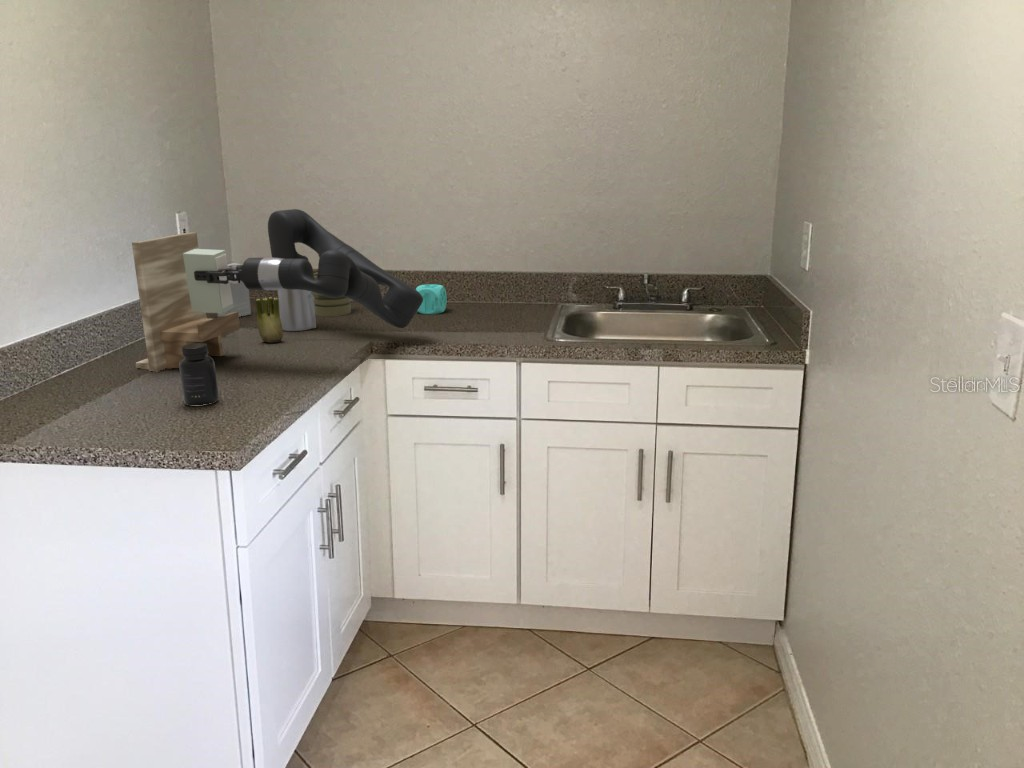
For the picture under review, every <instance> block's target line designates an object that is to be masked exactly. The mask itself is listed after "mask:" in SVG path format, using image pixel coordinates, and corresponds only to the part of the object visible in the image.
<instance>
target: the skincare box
mask: <svg viewBox="0 0 1024 768" xmlns="http://www.w3.org/2000/svg"><path fill="white" fill-rule="evenodd" d="M229 265H240V263H236V262H232V263H229V264H228V266H229ZM230 285H231V292H232V299H233V307H234V308H232V309H230V310H228V311H226V312H224V313H223V314H220V313H217V318H218V317H221V316H223V315H226V314H229V313H232V312H238V314H239V318H241V316H242V317H244V316H249V315H252V310H251V299H250V290H249V289H248V288H246V286H245V285H244V283H243V282H240V283H237V284H233V283H230Z"/></svg>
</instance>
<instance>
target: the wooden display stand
mask: <svg viewBox="0 0 1024 768" xmlns="http://www.w3.org/2000/svg"><path fill="white" fill-rule="evenodd" d="M131 246H132V254H133V260H134V269H135V277H136V284H137V289H138V290H137V291H138V296H139V297H138V298H139V303H140V304H139V305H140V311H141V313H140V314H141V318H142V319H141V321H142V326H143V333H144V341H145V346H146V355H147V358H145V359H142V360H140V361H137V362H135V367H136V369H137V368H141V369H140V370H149V372H150V371H156V372H155V373H158V372H157V371H159V372H161V371H160V370H162V369H164V370H166V369H165V368H167V369H172V368H179V363H180V361H181V360H182V359H184V357H183V356H182V346H184V345H187V344H193V343H205V344H206V345H207V350H208V354H207V356H209V357H212V356H213V357H221V356H223V355H224V350H223V349H224V348H223V341H222V339H223V338H222V335H224V334H227V333H230V332H232V331H235V330H237V329H240V328H241V324H240V317H239V314H238V312H232V313H229V314H226V315H223V316H221V317H218V316H217V317H215V318H209V317H207V313H205V312H192V308H191V302H190V296H189V289H188V283H187V277H186V271H185V264H184V258H183V253H186V252H188V251H191V250H193V249H200V248H199V242H198V233H197V232H193V231H192V232H184V233H179V234H172V235H167V236H162V237H157V238H156V237H155V238H151V239H150V238H149V239H145V240H140V241H139V240H138V241H134V242H131ZM162 371H163V370H162Z"/></svg>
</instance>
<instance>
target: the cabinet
mask: <svg viewBox="0 0 1024 768" xmlns="http://www.w3.org/2000/svg"><path fill="white" fill-rule="evenodd" d="M183 258H184V264H185V271H186V277H187V283H188V289H189V296H190V302H191V308H192V312H205V313H206V314H218V313H220V314H223V313H224V312H226V311H228V310H230V309H232V308H234V307H233V299H232V292H231V285H230V283H227V284H219V283H207V281H196V280H195V277H194V272H195V271H209V270H218V269H219V268H227V267H228V257H227V252H226V249H210V248H209V249H208V248H205V249H204V248H199V249H193V250H191V251H188V252H186V253H183ZM222 272H225V270H224V271H222Z"/></svg>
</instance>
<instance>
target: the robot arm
mask: <svg viewBox="0 0 1024 768" xmlns="http://www.w3.org/2000/svg"><path fill="white" fill-rule="evenodd" d="M267 233H268V241H269V248H270V253H271V257H248V258H246V259H245V260H244V261H243V263H241V264H240V263H239V264H240V265H229V266H228V267H227V268H219V269H218V270H209V271H195V272H194V277H195V280H196V281H207V283H219V284H227V283H233V284H237V283H240V282H243V283H244V285H245V286H246V288H248V289H249V291H277V297H278V298H277V299H279V315H280V319H281V323H282V328H283V331H285V332H298V331H306V330H311V329H316V328H317V323H316V315H315V308H314V297H315V295H314V294H313V292H316V293H319V294H322V295H325V296H328V297H332V298H339V297H341V296H343V295H344V296H345V297H347V298H349V299H350V300H351V301H354V302H356V303H358V304H360V305H361V306H363V307H364V308H365V309H367V310H368V311H369V312H371V313H372V314H374V316H377V317H378V318H380V319H382V320H383V321H385V323H388V324H389V325H391V326H393V327H396V328H399V329H404V328H406V327H407V326H408V325H409V324H410V323H411V321H412V319H414V317H415V315H416V313H417V312H418V311H417V310H418V309H419V307H420V306H421V304H422V302H423V297H422V295H421V294H420V293H419V292H418V291H417V290H416V288H414V287H412V286H411V285H410V284H408V283H406V282H404V281H403V280H401V279H399V278H398V277H396V276H394V275H393V274H391V273H390V272H388V271H386V270H385V269H383V268H381V267H380V266H378V265H377V264H375V263H374V262H373V261H372V260H370V259H369V258H367V257H366V256H365V255H363V254H362V253H360V252H359V251H358V250H356V249H355V248H354V247H352V246H350V245H349V244H347V243H346V242H344V241H343V240H342V239H340V238H338V237H337V236H336V235H334V234H332V233H331V232H330V231H328V230H327V229H326V228H325V227H323V226H322V225H321V224H320V223H319V222H318V221H317V220H315V218H313V217H312V216H311V215H310V214H308V213H307V212H306V211H304V210H301V209H298V208H295V209H294V208H292V209H282V210H275V211H274V212H272V213H270V215H269V217H268V221H267ZM299 243H300V244H303V245H306V246H307V247H309V248H310V249H312V250H313V251H315V252H316V253H317V254H318V258H319V260H318V267H317V273H318V275H317V280H315V279H314V274H315V273H314V270H313V269H314V268H313V266H312V263H311V262H310V260H309V258H308V257H307V256H306V255H304V254H303V255H302V254H300V253H299V252H298V251H297V249H296V244H299ZM224 270H225V272H222V271H224ZM379 285H380V286H385V287H387V288H388V290H387V291H386V292H385V294H384V295H383V297H382V292H381V288H380V286H379Z"/></svg>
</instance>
